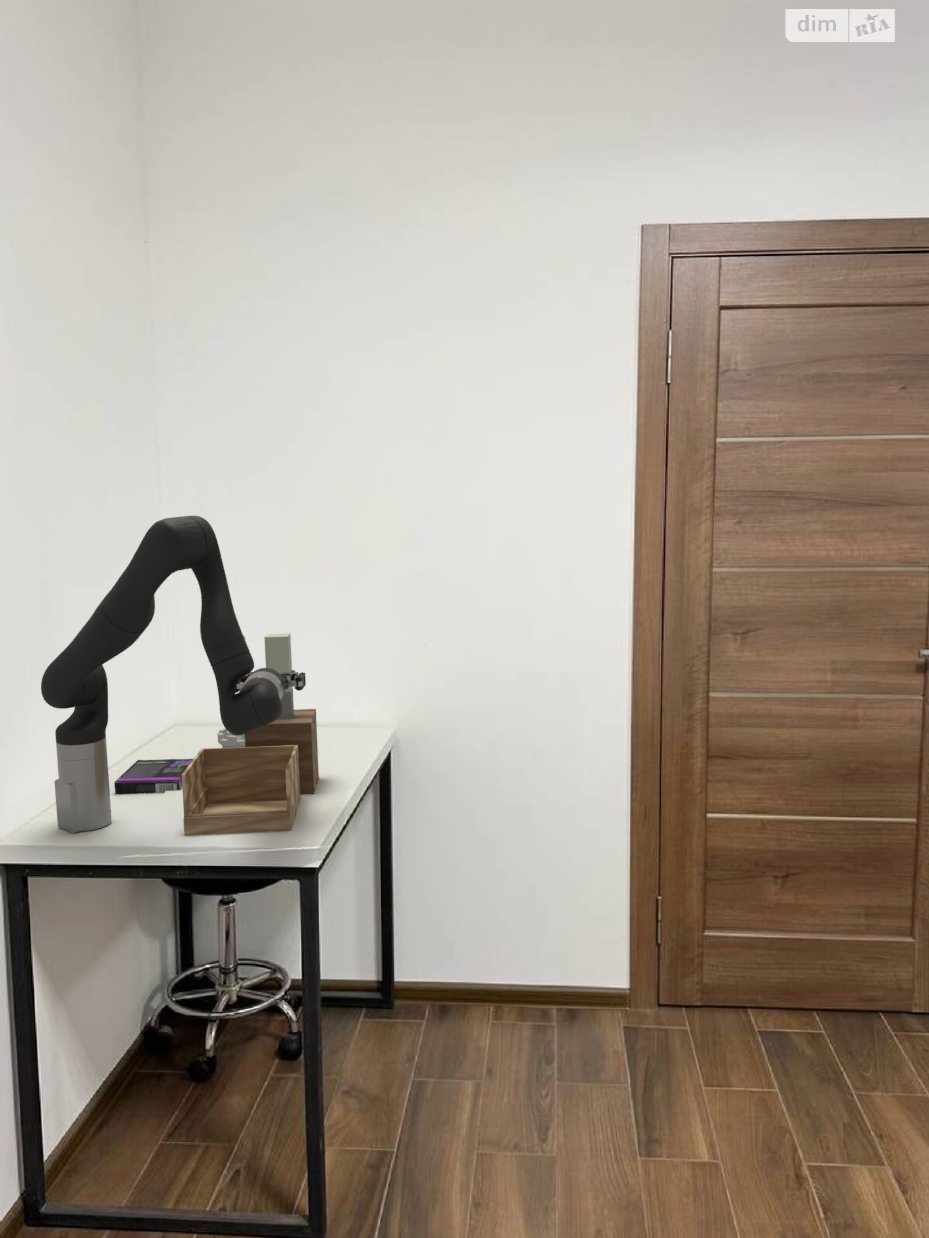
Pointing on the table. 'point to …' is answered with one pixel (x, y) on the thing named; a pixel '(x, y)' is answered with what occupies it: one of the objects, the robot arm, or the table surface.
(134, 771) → the box
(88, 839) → the table surface
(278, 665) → the box
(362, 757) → the table surface
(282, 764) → the wooden open bin
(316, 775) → the riser
